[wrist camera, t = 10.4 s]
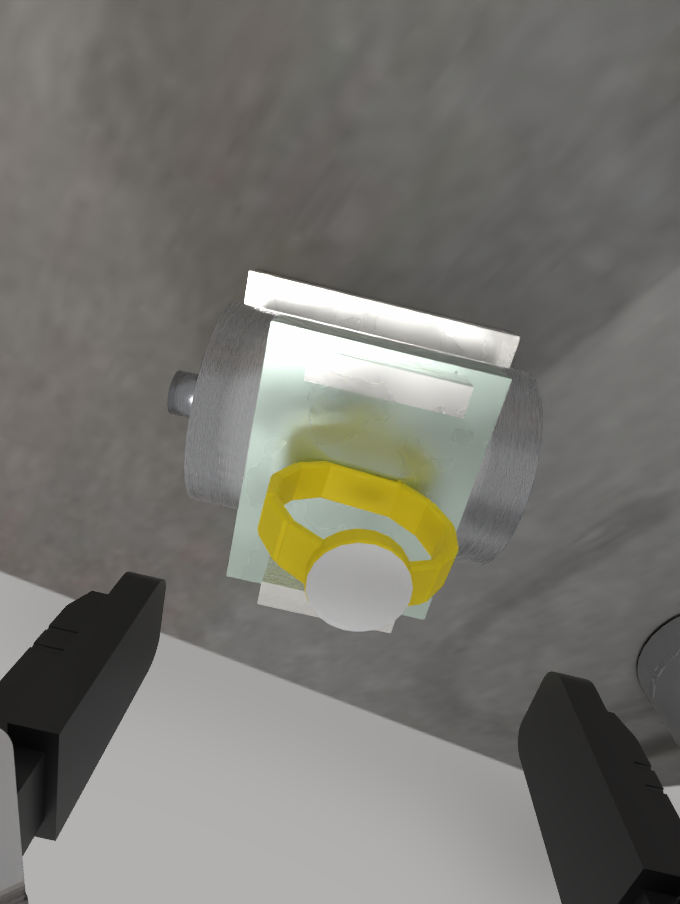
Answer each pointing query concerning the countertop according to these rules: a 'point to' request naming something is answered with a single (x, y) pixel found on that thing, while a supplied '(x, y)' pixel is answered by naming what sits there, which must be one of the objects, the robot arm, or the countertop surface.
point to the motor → (357, 420)
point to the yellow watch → (356, 545)
